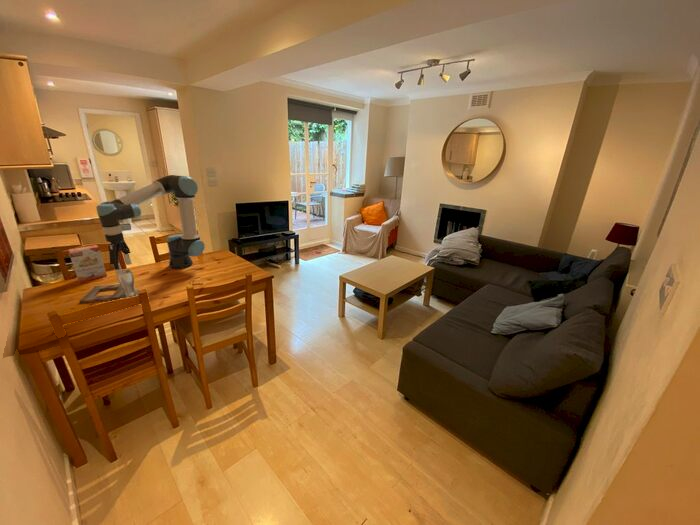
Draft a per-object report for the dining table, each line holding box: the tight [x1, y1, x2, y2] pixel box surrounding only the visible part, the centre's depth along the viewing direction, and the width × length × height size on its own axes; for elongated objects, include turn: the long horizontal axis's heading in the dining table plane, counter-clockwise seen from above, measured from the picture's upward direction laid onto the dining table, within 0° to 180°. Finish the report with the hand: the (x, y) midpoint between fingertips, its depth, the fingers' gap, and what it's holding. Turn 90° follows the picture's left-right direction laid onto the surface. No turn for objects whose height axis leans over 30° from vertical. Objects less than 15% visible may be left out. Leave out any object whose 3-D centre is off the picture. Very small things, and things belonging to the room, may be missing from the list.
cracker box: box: [67, 244, 108, 283], centre depth 182 cm, size 14×6×21 cm, turn 140°
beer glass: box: [117, 269, 137, 297], centre depth 164 cm, size 7×7×15 cm
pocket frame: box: [79, 283, 124, 304], centre depth 168 cm, size 18×18×2 cm
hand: (124, 269), depth 161 cm, fingers open, 13 cm apart
